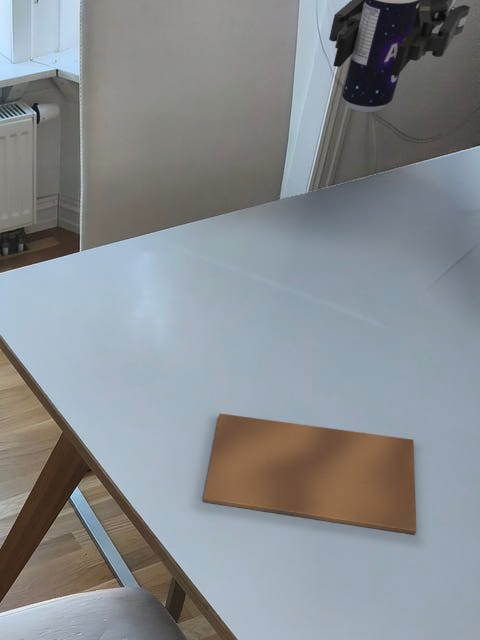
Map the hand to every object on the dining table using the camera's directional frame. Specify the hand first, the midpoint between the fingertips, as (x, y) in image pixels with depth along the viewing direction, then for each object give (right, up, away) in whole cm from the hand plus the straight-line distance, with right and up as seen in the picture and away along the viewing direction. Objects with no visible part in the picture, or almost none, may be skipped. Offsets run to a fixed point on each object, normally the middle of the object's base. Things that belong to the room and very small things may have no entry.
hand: (368, 56), depth 96 cm
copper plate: (-9, -47, -7) cm, 48 cm away
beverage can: (+3, -1, +8) cm, 8 cm away
